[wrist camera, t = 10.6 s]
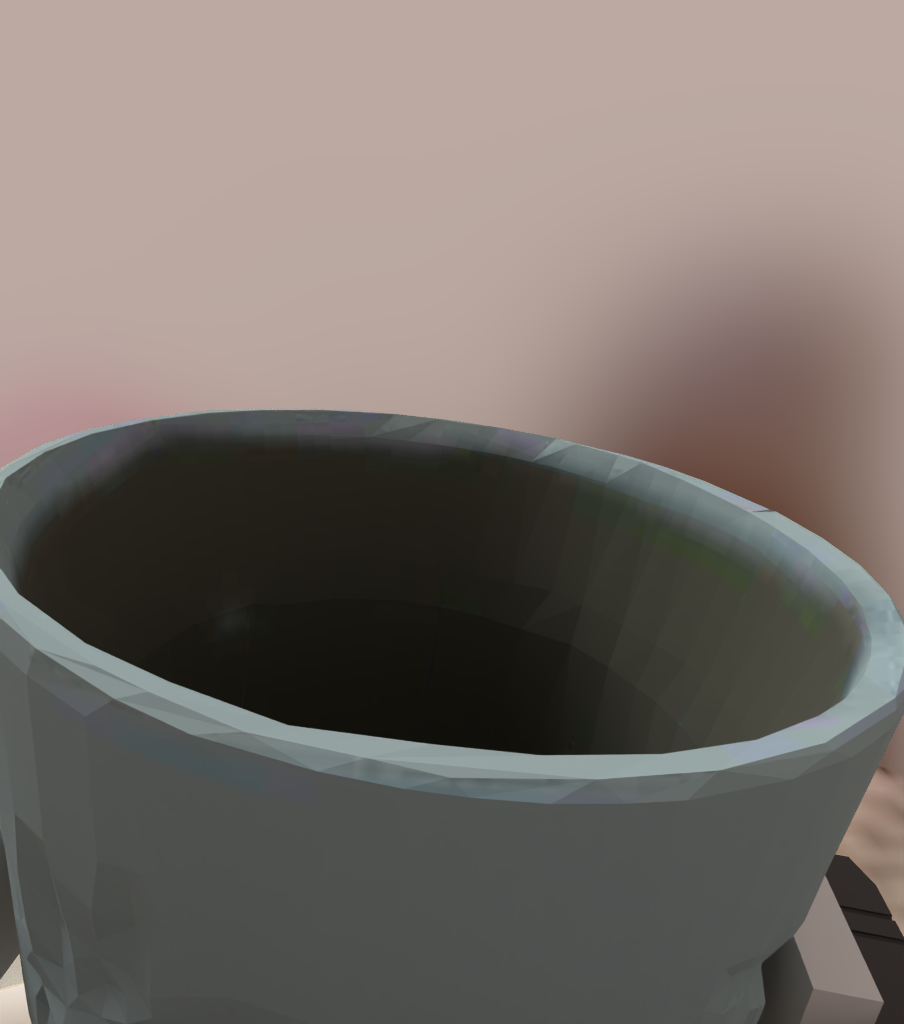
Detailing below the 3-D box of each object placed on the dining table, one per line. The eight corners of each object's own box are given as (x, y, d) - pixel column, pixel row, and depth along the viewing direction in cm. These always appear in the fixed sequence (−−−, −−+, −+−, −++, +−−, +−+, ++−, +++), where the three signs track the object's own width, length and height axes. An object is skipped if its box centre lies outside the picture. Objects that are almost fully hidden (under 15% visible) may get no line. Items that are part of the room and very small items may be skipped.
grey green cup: (578, 1984, 7) (1117, 1050, 4) (-196, 1389, 10) (-366, 503, 6) (674, 1044, 17) (854, 496, 13) (252, 865, 19) (293, 372, 16)
